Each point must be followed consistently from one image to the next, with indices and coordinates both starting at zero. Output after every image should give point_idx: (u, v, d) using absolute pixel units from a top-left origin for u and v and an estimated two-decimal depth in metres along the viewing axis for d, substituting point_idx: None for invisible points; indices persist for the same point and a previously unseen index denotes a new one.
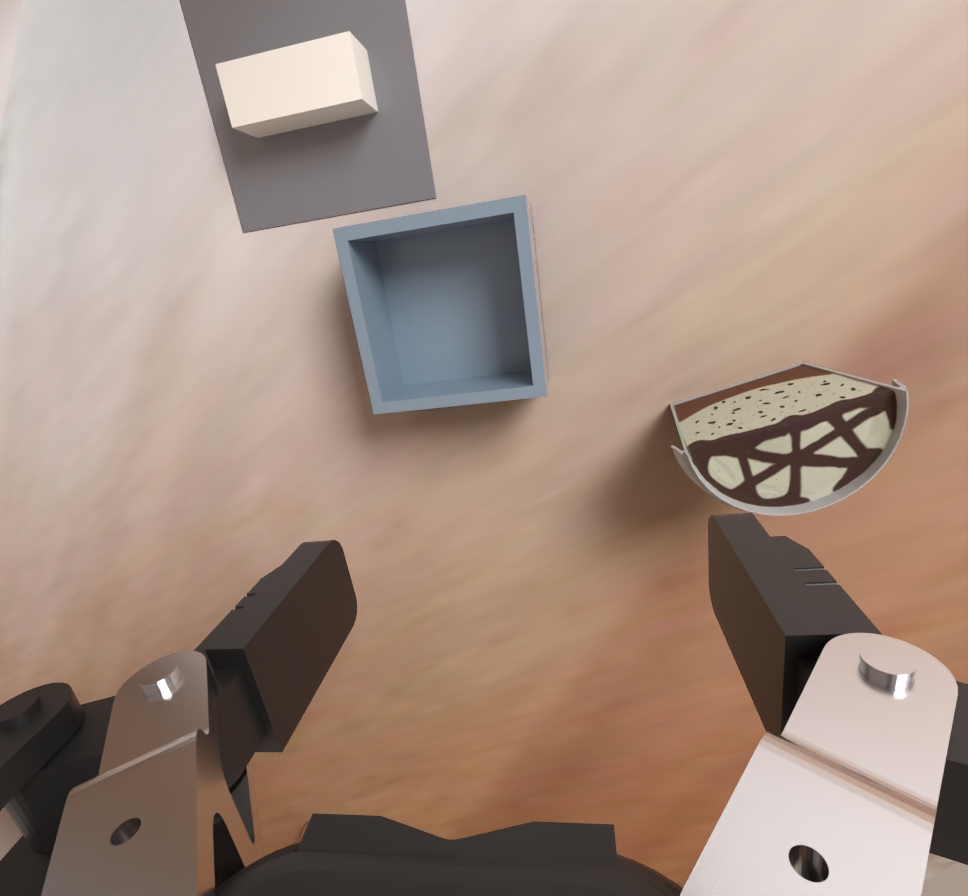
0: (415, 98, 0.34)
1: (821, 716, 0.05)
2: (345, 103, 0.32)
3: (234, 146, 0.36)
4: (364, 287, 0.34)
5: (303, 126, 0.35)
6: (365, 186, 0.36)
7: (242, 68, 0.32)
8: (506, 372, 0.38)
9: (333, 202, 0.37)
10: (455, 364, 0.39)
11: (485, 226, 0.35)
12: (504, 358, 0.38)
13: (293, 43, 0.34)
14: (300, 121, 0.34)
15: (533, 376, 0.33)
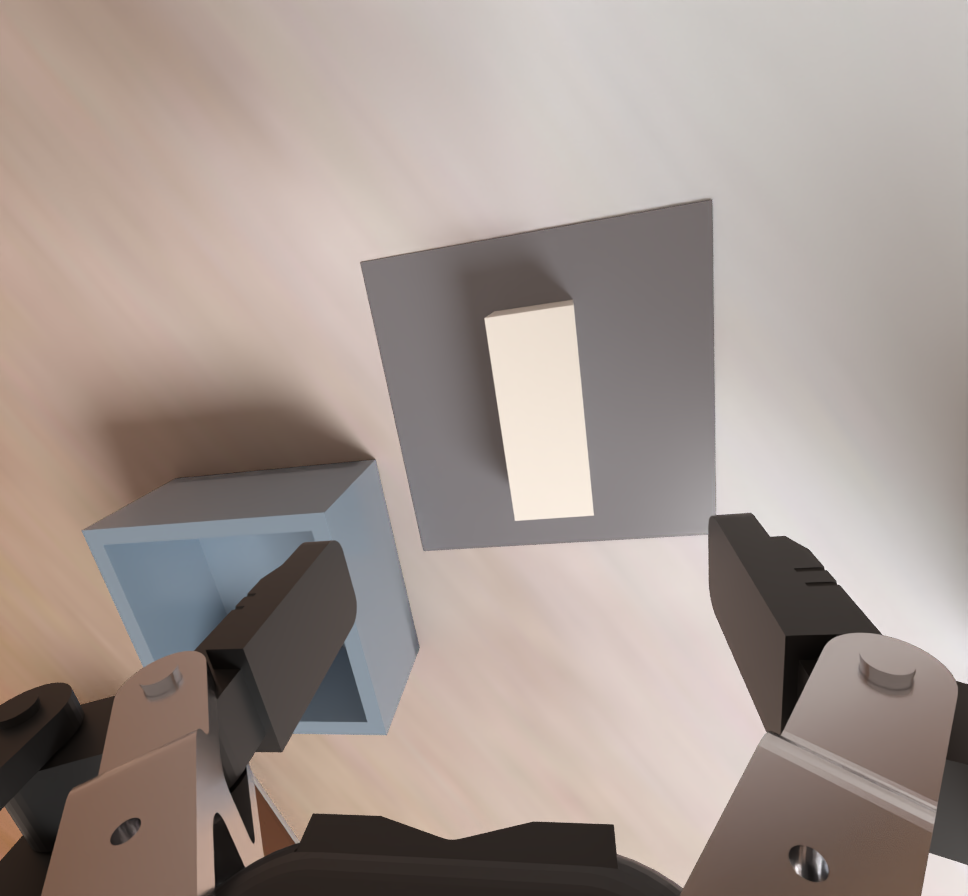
0: (533, 539, 0.27)
1: (821, 716, 0.05)
2: (511, 495, 0.23)
3: (483, 267, 0.22)
4: None
5: None
6: (433, 465, 0.26)
7: (564, 351, 0.20)
8: None
9: (411, 418, 0.25)
10: (225, 563, 0.29)
11: None
12: None
13: (610, 388, 0.23)
14: None
15: None
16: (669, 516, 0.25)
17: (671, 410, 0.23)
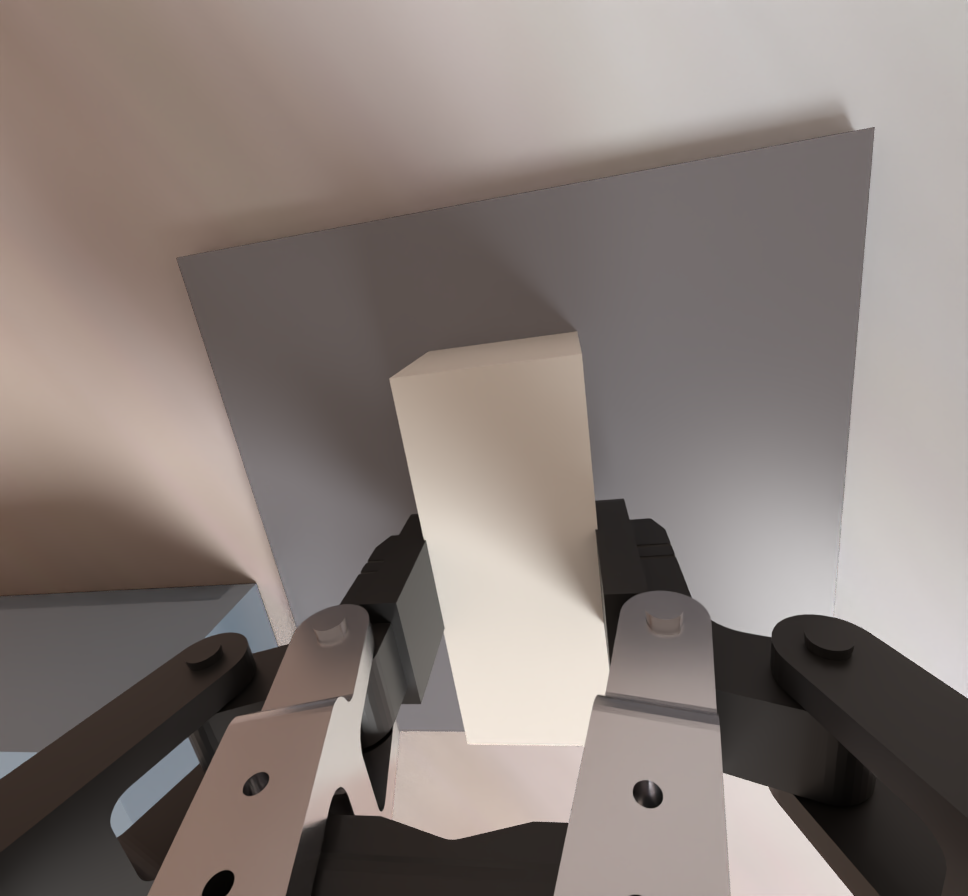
0: None
1: (629, 670, 0.06)
2: (461, 698, 0.12)
3: (404, 268, 0.12)
4: None
5: None
6: None
7: (560, 450, 0.09)
8: None
9: (293, 531, 0.15)
10: None
11: None
12: None
13: (645, 492, 0.13)
14: None
15: None
16: None
17: (757, 534, 0.13)
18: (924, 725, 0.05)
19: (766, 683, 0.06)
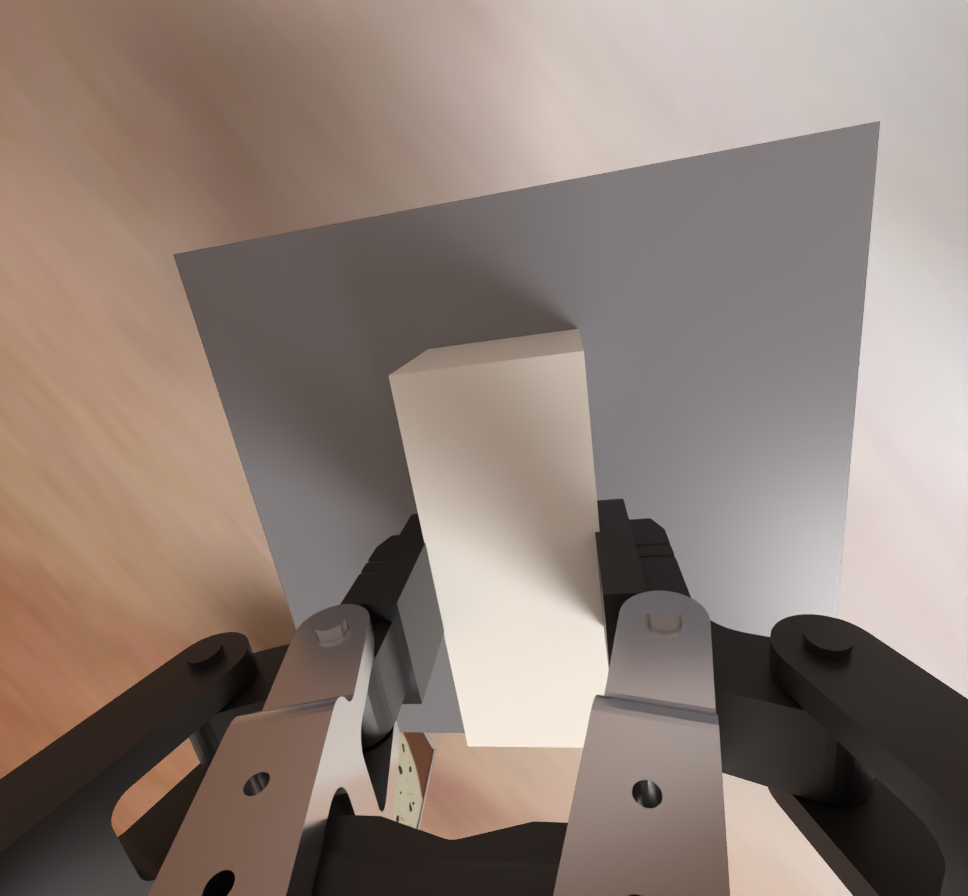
0: None
1: (629, 670, 0.06)
2: (461, 700, 0.12)
3: (403, 265, 0.12)
4: None
5: None
6: None
7: (561, 448, 0.09)
8: None
9: (292, 531, 0.14)
10: None
11: None
12: None
13: (647, 491, 0.13)
14: None
15: None
16: None
17: (760, 534, 0.12)
18: (922, 725, 0.05)
19: (765, 682, 0.06)
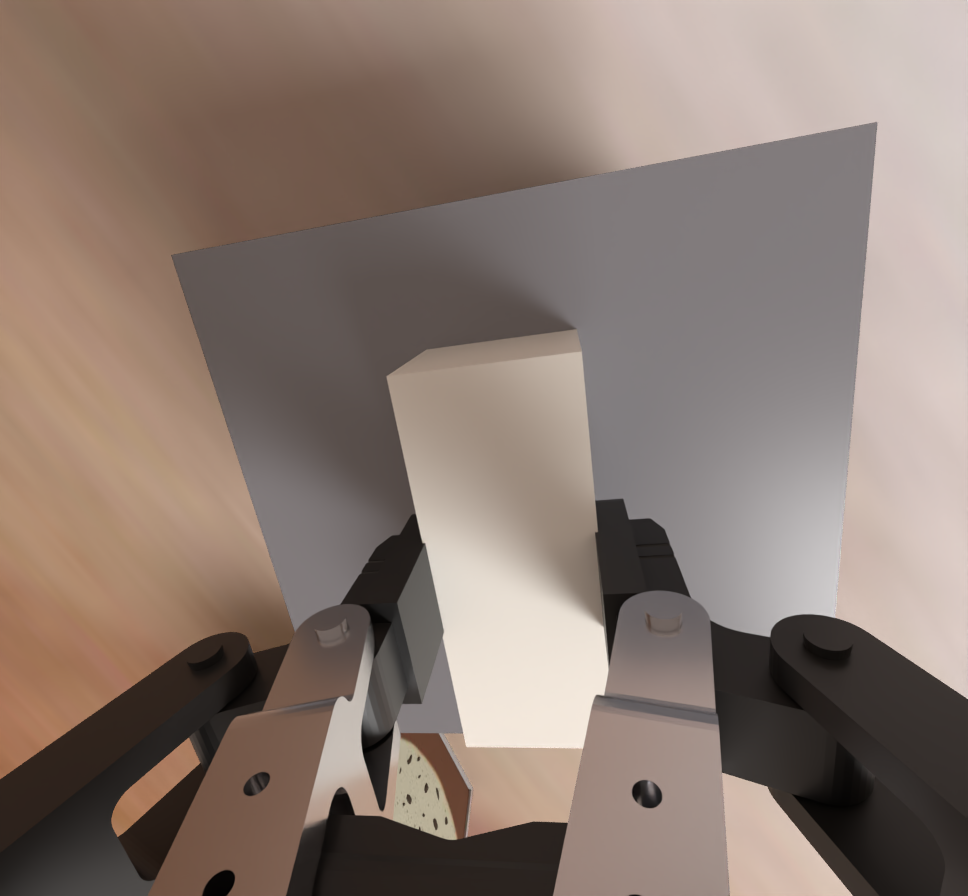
0: None
1: (628, 670, 0.06)
2: (460, 700, 0.12)
3: (401, 266, 0.11)
4: None
5: None
6: None
7: (559, 449, 0.09)
8: None
9: (290, 532, 0.14)
10: None
11: None
12: None
13: (645, 492, 0.13)
14: None
15: None
16: None
17: (758, 534, 0.12)
18: (922, 725, 0.05)
19: (765, 683, 0.06)
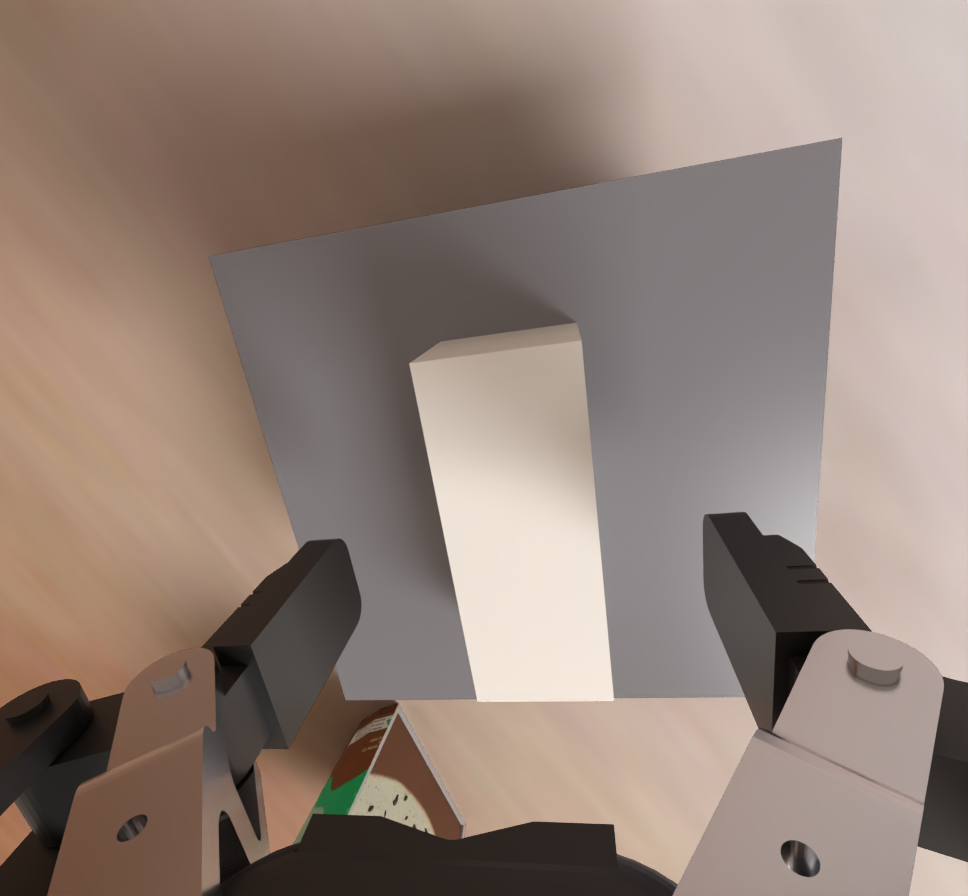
0: None
1: (811, 713, 0.05)
2: (471, 659, 0.13)
3: (418, 266, 0.13)
4: None
5: None
6: None
7: (562, 427, 0.11)
8: None
9: (313, 511, 0.16)
10: None
11: None
12: None
13: (639, 471, 0.14)
14: None
15: None
16: (730, 668, 0.16)
17: (742, 509, 0.14)
18: None
19: None
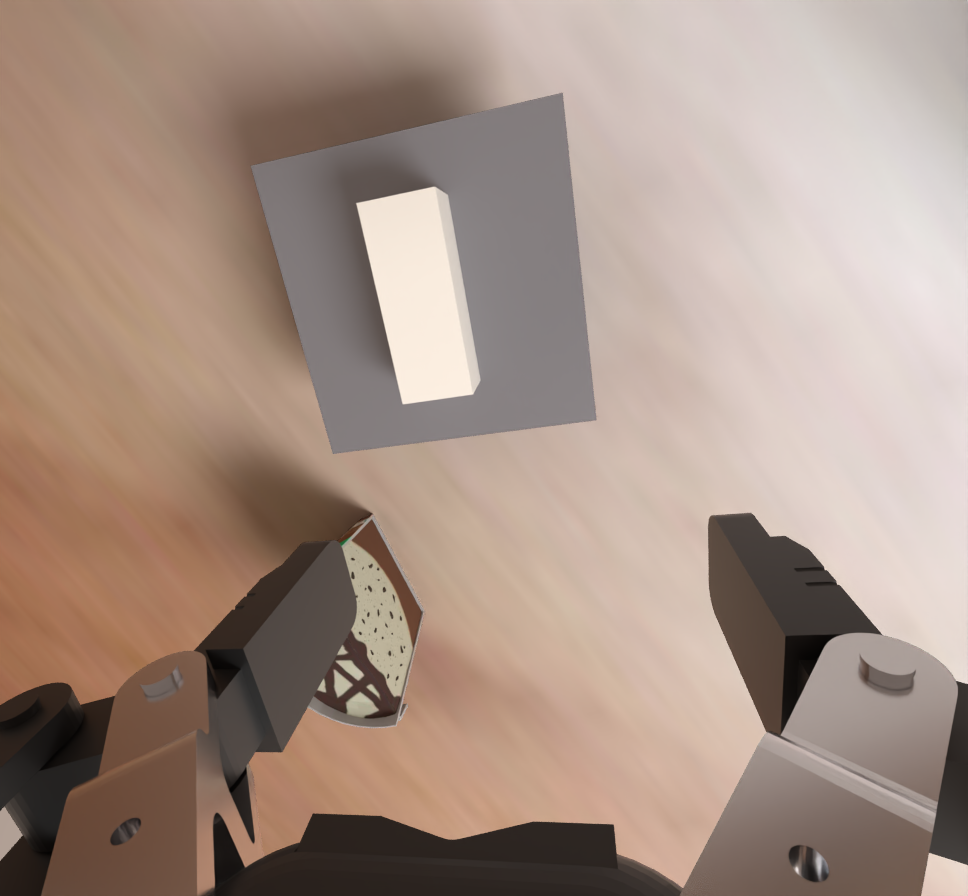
0: (432, 435, 0.28)
1: (821, 716, 0.05)
2: (398, 379, 0.25)
3: (363, 166, 0.24)
4: None
5: None
6: (335, 366, 0.28)
7: (430, 232, 0.22)
8: None
9: (310, 320, 0.27)
10: None
11: None
12: None
13: (489, 280, 0.25)
14: None
15: None
16: (553, 405, 0.27)
17: (545, 300, 0.25)
18: None
19: None
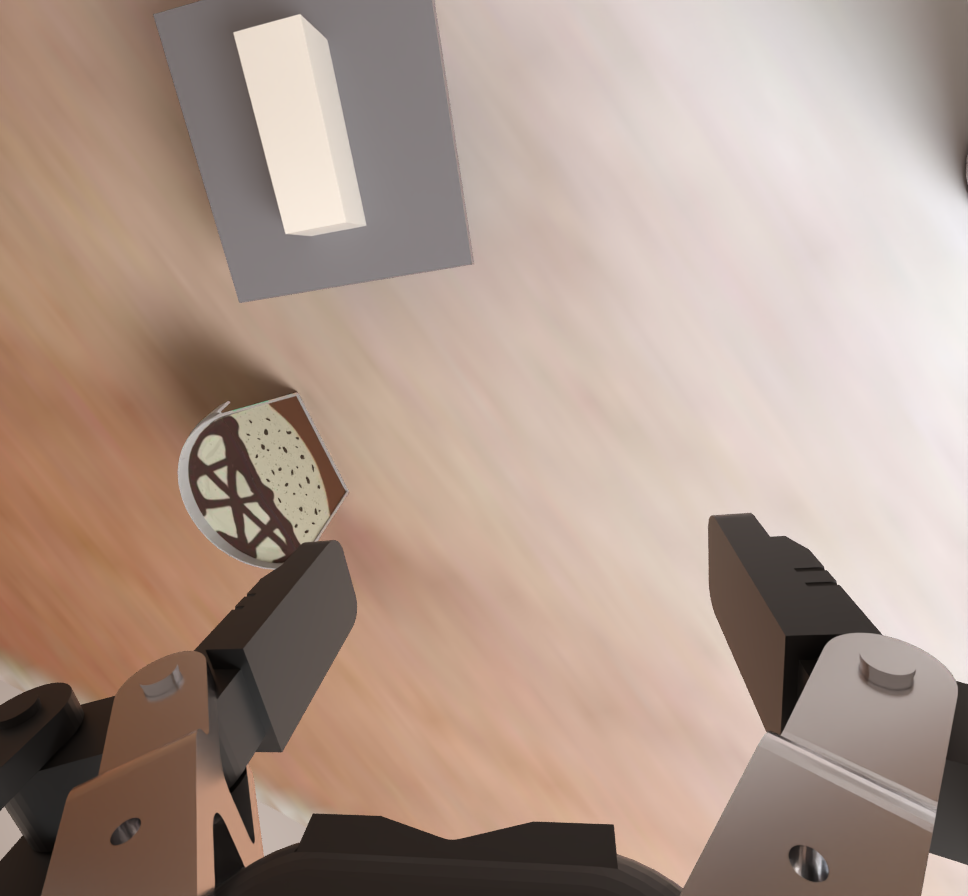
0: (327, 282, 0.31)
1: (821, 716, 0.05)
2: (281, 210, 0.27)
3: (252, 13, 0.27)
4: None
5: None
6: (236, 213, 0.30)
7: (299, 60, 0.24)
8: None
9: (213, 167, 0.30)
10: None
11: None
12: None
13: (368, 125, 0.28)
14: None
15: None
16: (432, 249, 0.29)
17: (419, 143, 0.28)
18: None
19: None
